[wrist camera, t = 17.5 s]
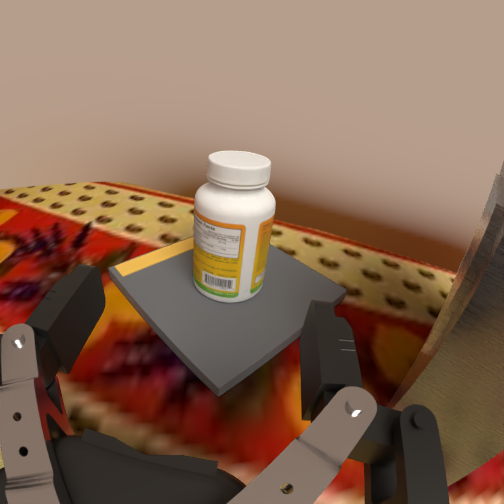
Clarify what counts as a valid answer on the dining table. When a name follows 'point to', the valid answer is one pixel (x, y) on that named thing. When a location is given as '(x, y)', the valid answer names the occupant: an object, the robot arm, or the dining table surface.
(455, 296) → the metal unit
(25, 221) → the dining table surface
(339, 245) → the dining table surface
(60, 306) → the robot arm
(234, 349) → the mat
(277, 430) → the dining table surface
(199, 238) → the supplement bottle
